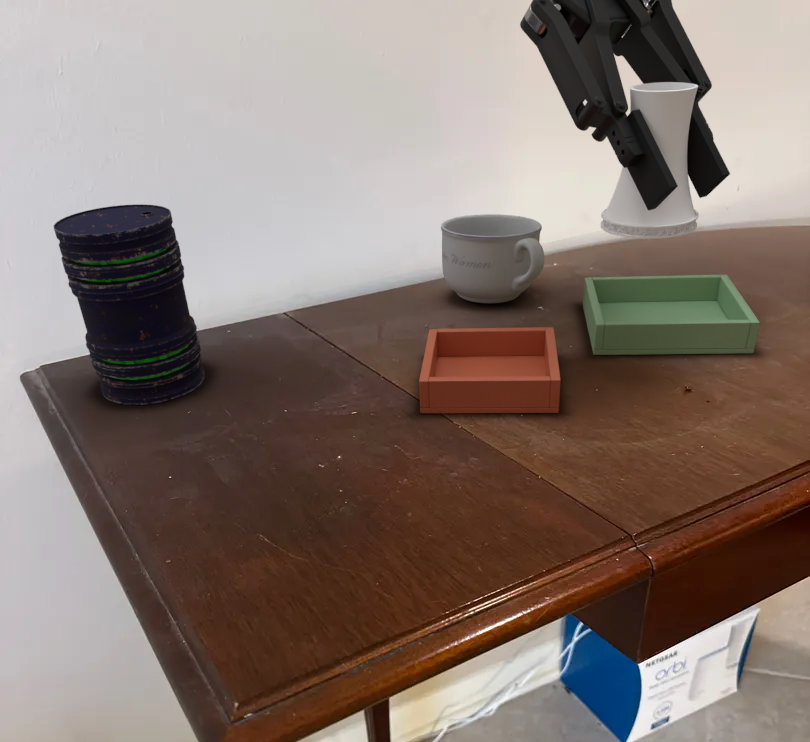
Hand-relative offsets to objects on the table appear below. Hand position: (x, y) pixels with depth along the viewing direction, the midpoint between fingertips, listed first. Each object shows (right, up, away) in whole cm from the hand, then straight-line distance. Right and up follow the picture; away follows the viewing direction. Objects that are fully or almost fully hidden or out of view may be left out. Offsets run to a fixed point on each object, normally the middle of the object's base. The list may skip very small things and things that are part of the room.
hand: (688, 191), depth 61 cm
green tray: (+4, -5, +20) cm, 21 cm away
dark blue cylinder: (-45, -11, +16) cm, 49 cm away
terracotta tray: (-14, -12, +12) cm, 22 cm away
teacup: (-11, 0, +30) cm, 32 cm away
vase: (-2, -1, +5) cm, 5 cm away
